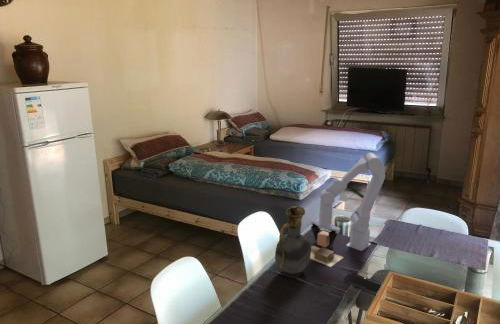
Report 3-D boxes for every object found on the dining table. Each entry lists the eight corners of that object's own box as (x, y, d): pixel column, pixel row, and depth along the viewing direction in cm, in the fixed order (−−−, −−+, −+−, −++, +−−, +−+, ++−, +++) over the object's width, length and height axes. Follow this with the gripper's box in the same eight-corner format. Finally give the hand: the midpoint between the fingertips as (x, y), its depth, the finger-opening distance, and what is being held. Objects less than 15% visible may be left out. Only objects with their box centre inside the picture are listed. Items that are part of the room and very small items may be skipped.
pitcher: (312, 268, 168) (316, 201, 160) (291, 290, 153) (294, 217, 145) (289, 261, 174) (292, 196, 166) (266, 281, 159) (268, 210, 150)
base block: (321, 253, 180) (322, 247, 179) (333, 257, 176) (334, 251, 175) (314, 258, 175) (314, 252, 175) (326, 263, 171) (326, 256, 171)
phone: (350, 272, 164) (386, 284, 156) (349, 274, 165) (386, 287, 156) (342, 281, 158) (380, 294, 150) (342, 283, 159) (379, 297, 150)
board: (312, 246, 187) (313, 245, 187) (343, 258, 177) (343, 257, 176) (299, 255, 179) (299, 254, 179) (330, 268, 169) (330, 266, 168)
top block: (322, 242, 191) (322, 230, 190) (330, 245, 188) (331, 233, 187) (317, 245, 188) (317, 233, 186) (325, 248, 185) (326, 236, 183)
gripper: (307, 213, 186) (306, 240, 189) (335, 222, 176) (333, 250, 180) (315, 209, 191) (314, 235, 195) (343, 218, 181) (341, 245, 185)
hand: (323, 242), depth 188 cm, fingers open, 7 cm apart
